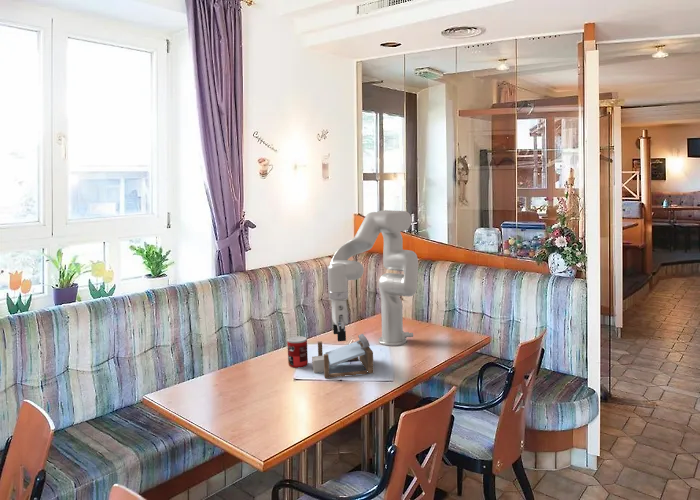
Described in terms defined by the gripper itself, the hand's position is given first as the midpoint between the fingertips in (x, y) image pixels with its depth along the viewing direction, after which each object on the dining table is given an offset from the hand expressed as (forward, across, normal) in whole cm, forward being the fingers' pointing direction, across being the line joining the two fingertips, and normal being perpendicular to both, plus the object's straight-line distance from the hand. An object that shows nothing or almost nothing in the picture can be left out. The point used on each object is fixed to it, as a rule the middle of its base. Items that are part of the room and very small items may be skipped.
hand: (339, 337), depth 230 cm
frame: (+13, 0, -2) cm, 13 cm away
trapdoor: (+7, 0, -3) cm, 8 cm away
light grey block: (+10, 0, +5) cm, 11 cm away
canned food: (+13, +9, +16) cm, 23 cm away
